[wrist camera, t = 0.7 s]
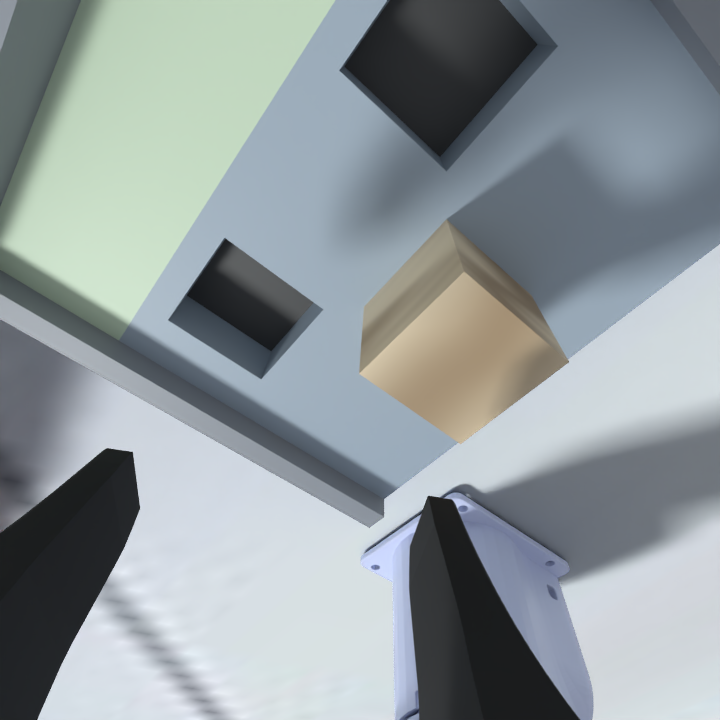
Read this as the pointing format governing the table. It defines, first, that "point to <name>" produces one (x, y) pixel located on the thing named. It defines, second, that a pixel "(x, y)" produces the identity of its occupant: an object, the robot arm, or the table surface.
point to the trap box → (337, 193)
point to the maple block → (456, 336)
